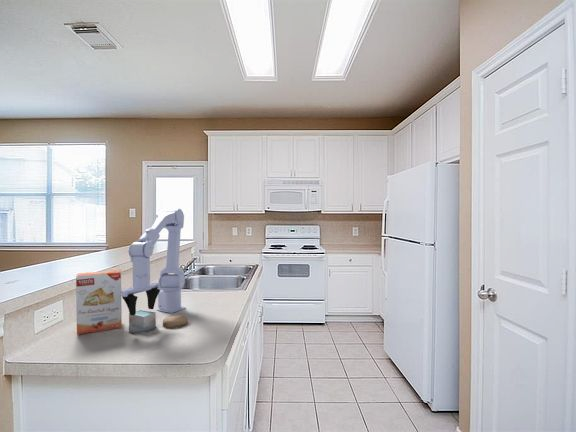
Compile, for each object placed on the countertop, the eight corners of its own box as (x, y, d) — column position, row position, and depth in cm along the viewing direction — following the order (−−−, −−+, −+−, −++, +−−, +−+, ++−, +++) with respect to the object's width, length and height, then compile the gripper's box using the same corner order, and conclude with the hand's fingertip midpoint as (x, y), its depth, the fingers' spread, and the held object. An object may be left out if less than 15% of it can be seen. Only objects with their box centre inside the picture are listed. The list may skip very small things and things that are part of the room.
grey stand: (123, 330, 113) (123, 325, 113) (145, 322, 121) (144, 318, 121) (139, 335, 109) (139, 329, 108) (161, 326, 116) (161, 321, 116)
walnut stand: (157, 325, 117) (157, 321, 117) (176, 318, 125) (176, 313, 125) (174, 329, 113) (174, 324, 113) (192, 321, 121) (192, 317, 121)
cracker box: (76, 335, 109) (75, 275, 109) (78, 330, 114) (77, 272, 114) (121, 328, 116) (120, 271, 115) (122, 323, 121) (120, 269, 121)
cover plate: (132, 315, 114) (132, 313, 114) (140, 313, 118) (140, 311, 117) (143, 318, 112) (143, 316, 112) (152, 315, 115) (151, 313, 115)
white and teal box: (129, 324, 114) (128, 313, 114) (141, 320, 119) (141, 309, 119) (143, 327, 111) (143, 316, 110) (155, 323, 115) (155, 312, 115)
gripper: (130, 279, 106) (131, 319, 106) (165, 272, 119) (165, 307, 119) (117, 277, 109) (118, 316, 109) (152, 270, 122) (153, 305, 122)
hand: (142, 311), depth 114 cm, fingers open, 7 cm apart
